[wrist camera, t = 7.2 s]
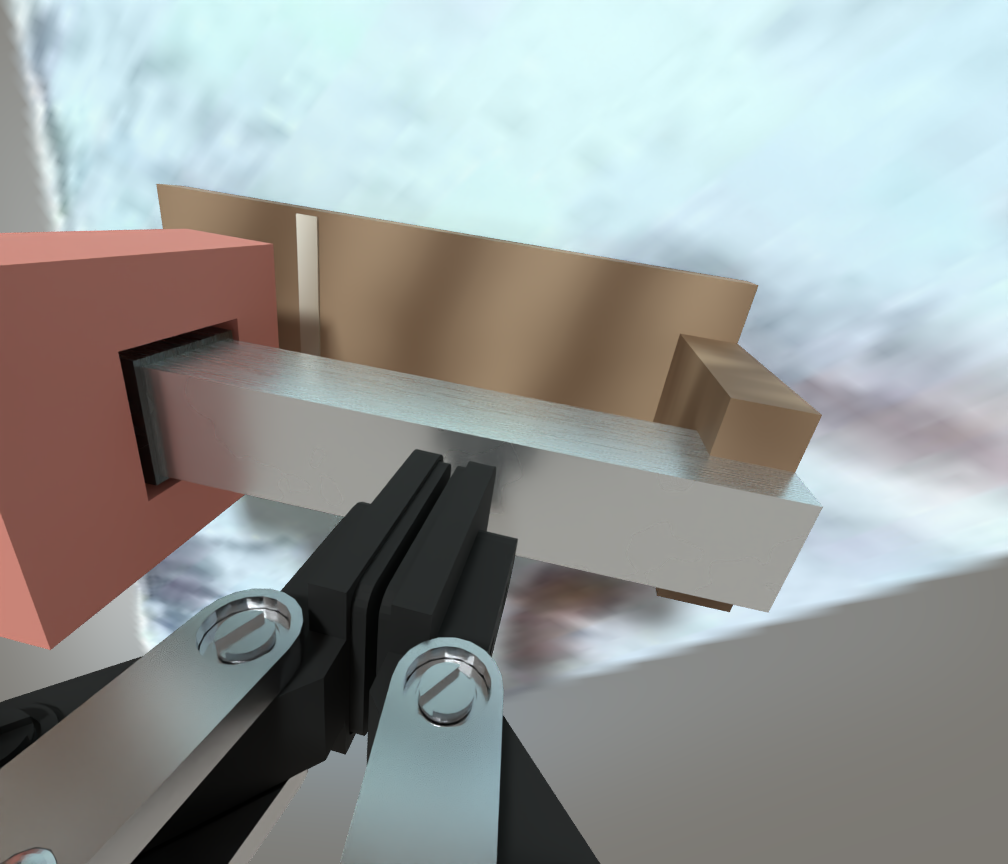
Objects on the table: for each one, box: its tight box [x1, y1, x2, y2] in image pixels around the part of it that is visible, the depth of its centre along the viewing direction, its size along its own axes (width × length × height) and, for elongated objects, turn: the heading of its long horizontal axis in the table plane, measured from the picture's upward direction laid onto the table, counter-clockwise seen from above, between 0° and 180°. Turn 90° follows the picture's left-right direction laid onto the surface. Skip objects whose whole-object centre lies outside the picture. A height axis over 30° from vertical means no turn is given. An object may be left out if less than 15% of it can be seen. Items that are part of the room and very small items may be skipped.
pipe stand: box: [157, 184, 822, 612], centre depth 17 cm, size 22×10×8 cm, turn 81°
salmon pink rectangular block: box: [0, 229, 279, 650], centre depth 13 cm, size 3×8×9 cm, turn 171°
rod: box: [118, 326, 823, 612], centre depth 13 cm, size 22×3×3 cm, turn 81°
